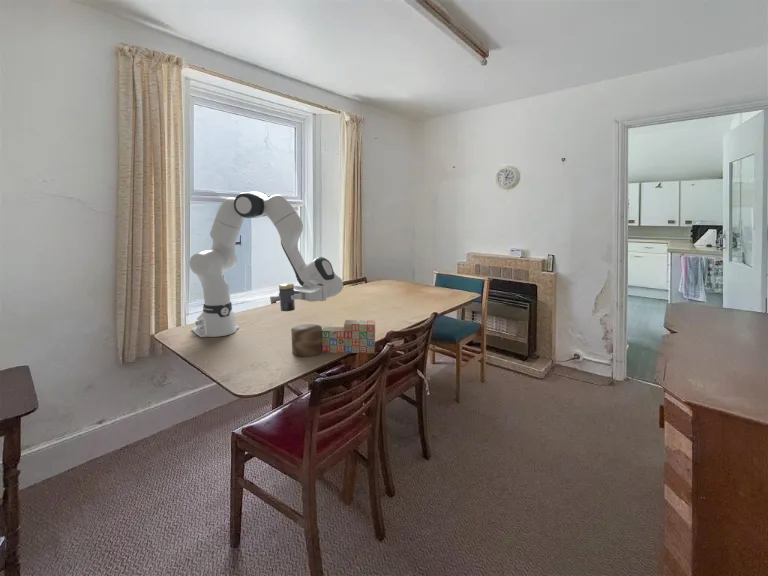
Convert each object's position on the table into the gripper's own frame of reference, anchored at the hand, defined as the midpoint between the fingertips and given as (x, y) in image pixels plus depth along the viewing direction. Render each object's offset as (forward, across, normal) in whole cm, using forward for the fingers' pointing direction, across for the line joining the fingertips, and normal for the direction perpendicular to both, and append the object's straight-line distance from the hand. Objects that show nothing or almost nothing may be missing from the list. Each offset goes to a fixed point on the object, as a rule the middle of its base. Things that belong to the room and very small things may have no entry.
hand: (285, 296), depth 151 cm
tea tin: (-1, 0, +6) cm, 6 cm away
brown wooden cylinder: (-5, +6, +23) cm, 24 cm away
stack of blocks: (-17, +18, +24) cm, 34 cm away
